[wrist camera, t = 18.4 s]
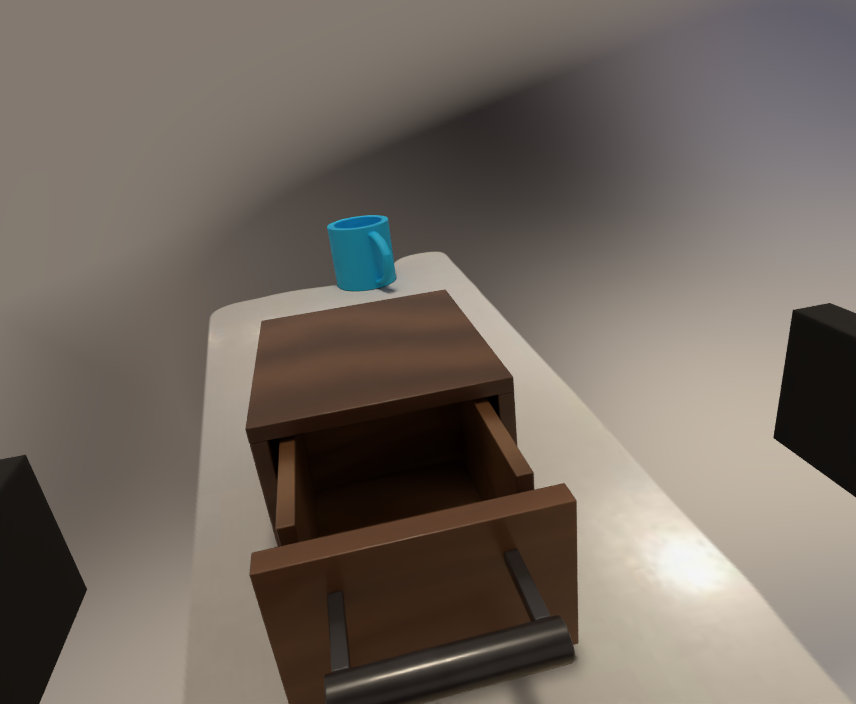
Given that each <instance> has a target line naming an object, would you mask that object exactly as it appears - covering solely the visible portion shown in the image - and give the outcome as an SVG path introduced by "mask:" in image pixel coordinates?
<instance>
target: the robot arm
mask: <svg viewBox="0 0 856 704" xmlns="http://www.w3.org/2000/svg"><path fill="white" fill-rule="evenodd" d="M774 439H776V440H777V441H778V442H780V443H781V444H783V445H784V446H785V447H787V448H788V449H790V450H791V451H792V452H794V453H795V454H796V455H798V456H799V457H801V458H802V459H803V460H805V461H806V462H807V463H809V464H810V465H812V466H813V467H814V468H816V469H817V470H819V471H820V472H821V473H823V474H824V475H826V476H827V477H828V478H830V479H831V480H832V481H834V482H835V483H837V484H838V485H839V486H841V487H842V488H844V489H845V490H846V491H848V492H849V493H851V494H852V495H853V496H855V497H856V313H853V312H851V311H849V310H846V309H843V308H841V307H839V306H836V305H834V304H831V303H828V304H823V305H817V306H812V307H807V308H801V309H796V310H793V313H792V319H791V326H790V333H789V339H788V346H787V352H786V359H785V366H784V373H783V378H782V385H781V392H780V398H779V405H778V411H777V418H776V424H775V431H774ZM86 591H87V588H86V586H85V584H84V582H83V579H82V577H81V575H80V573H79V571H78V569H77V566H76V564H75V562H74V560H73V557H72V555H71V553H70V551H69V549H68V546H67V544H66V542H65V540H64V538H63V535H62V533H61V531H60V529H59V527H58V525H57V522H56V520H55V518H54V516H53V513H52V511H51V509H50V507H49V505H48V503H47V500H46V498H45V496H44V494H43V492H42V489H41V487H40V485H39V483H38V481H37V478H36V476H35V474H34V472H33V470H32V467H31V465H30V464H29V461H28V459H27V457H26V455H22V456H17V457H12V458H6V459H1V460H0V704H39V703H40V701H41V698H42V696H43V694H44V691H45V689H46V686H47V684H48V681H49V679H50V677H51V674H52V672H53V669H54V667H55V665H56V662H57V660H58V658H59V655H60V653H61V650H62V648H63V646H64V643H65V641H66V638H67V636H68V634H69V631H70V629H71V626H72V624H73V622H74V619H75V617H76V614H77V612H78V610H79V607H80V605H81V603H82V600H83V598H84V595H85V593H86Z"/></svg>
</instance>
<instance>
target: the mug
mask: <svg viewBox="0 0 856 704" xmlns="http://www.w3.org/2000/svg"><path fill="white" fill-rule="evenodd" d="M327 229H328V234H329V240H330V246H331V250H332V257H333V262H334V268H335V273H336V279H337V285H338V287H339V288H340V289H343V290H348V291H364V290H371V289H376V288H380V287H383V286H386V285H389V284H390V283H392V282H394V281H395V279H396V274H395V267H394V260H393V252H392V245H391V238H390V230H389V223H388V218H387V217H385V216H378V215H370V216H359V217H352V218H347V219H343V220H339V221H336V222H333V223H331V224H329V225H328V227H327Z"/></svg>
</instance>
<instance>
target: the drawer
mask: <svg viewBox="0 0 856 704" xmlns="http://www.w3.org/2000/svg"><path fill="white" fill-rule="evenodd" d="M276 533H277V537H278V540H279V544H280V547H276V548H271V549H267V550H262V551H258V552H253V553H252V554H251V564H250V578H251V582H252V585H253V588H254V591H255V595H256V598H257V601H258V605H259V608H260V611H261V614H262V618H263V621H264V624H265V627H266V631H267V634H268V637H269V640H270V644H271V647H272V650H273V654H274V657H275V660H276V663H277V667H278V670H279V673H280V676H281V680H282V683H283V686H284V690H285V693H286V696H287V699H288V703H289V704H422V703H425V702H429V701H433V700H437V699H440V698H444V697H448V696H452V695H455V694H459V693H463V692H467V691H470V690H474V689H478V688H482V687H485V686H489V685H493V684H497V683H500V682H504V681H508V680H511V679H515V678H519V677H523V676H526V675H530V674H534V673H538V672H541V671H545V670H549V669H553V668H556V667H560V666H564V665H568V664H571V663H573V662H574V659H575V655H574V647H573V645H574V644H578V582H577V501H576V499H575V497H574V496H573V495H572V493H571V492H570V490H569V489H568V487H567V486H566V485H565V483H563V484H558V485H554V486H549V487H545V488H540V489H536V490H534V473H533V471H532V469H531V468H530V466H529V465H528V463H527V461H526V460H525V458H524V457H523V455H522V454H521V452H520V450H519V449H518V447H517V446H516V444H515V443H514V441H513V439H512V438H511V436H510V435H509V433H508V431H507V430H506V428H505V427H504V425H503V424H502V422H501V420H500V419H499V417H498V416H497V414H496V412H495V411H494V409H493V408H492V406H491V405H490V403H489V401H488V400H487V398H486V397H483V398H478V399H473V400H468V401H463V402H458V403H453V404H448V405H443V406H438V407H433V408H428V409H423V410H418V411H413V412H408V413H403V414H397V415H392V416H387V417H382V418H377V419H372V420H367V421H362V422H357V423H352V424H347V425H342V426H337V427H332V428H327V429H322V430H317V431H312V432H307V433H302V434H297V435H292V436H287V437H282V438H280V441H279V463H278V485H277V507H276Z"/></svg>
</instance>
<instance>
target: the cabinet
mask: <svg viewBox="0 0 856 704" xmlns="http://www.w3.org/2000/svg"><path fill="white" fill-rule="evenodd" d="M483 397H486V398H487V400H488V401H489V403H490V405H491V406H492V408H493V409H494V411H495V412H496V414H497V416H498V417H499V419H500V420H501V422H502V424H503V425H504V427H505V428H506V430H507V431H508V433H509V435H510V436H511V438H512V439H513V441H514V443H515V444H516V446H517V433H516V416H515V400H514V383H513V376H512V375H511V374H510V372H509V371H508V370H507V368H506V367H505V366H504V365H503V363H502V362H501V361H500V359H499V358H498V357H497V355H496V354H495V353H494V352H493V350H492V349H491V348H490V346H489V345H488V344H487V343H486V341H485V340H484V339H483V337H482V336H481V335H480V334H479V332H478V331H477V330H476V328H475V327H474V326H473V325H472V323H471V322H470V321H469V319H468V318H467V317H466V316H465V314H464V313H463V312H462V310H461V309H460V308H459V306H458V305H457V304H456V303H455V301H454V300H453V299H452V297H451V296H450V295H449V294H448V292H447V291H446V290H440V291H434V292H428V293H422V294H416V295H410V296H405V297H399V298H393V299H387V300H381V301H375V302H370V303H364V304H358V305H352V306H346V307H340V308H335V309H329V310H323V311H317V312H311V313H306V314H300V315H294V316H288V317H282V318H276V319H271V320H265V321H262V322H261V329H260V335H259V342H258V349H257V355H256V362H255V369H254V375H253V382H252V389H251V396H250V402H249V409H248V416H247V422H246V429H245V430H246V433H247V437H248V441H249V443H250V447H251V451H252V455H253V458H254V462H255V466H256V469H257V473H258V477H259V480H260V484H261V487H262V491H263V495H264V498H265V502H266V506H267V509H268V513H269V517H270V520H271V524H272V528H273V531H274V535H275V539H276V542H277V546H278V547H280V544H279V540H278V537H277V533H276V507H277V485H278V463H279V441H280V438H282V437H287V436H292V435H297V434H302V433H307V432H312V431H317V430H322V429H327V428H332V427H337V426H342V425H347V424H352V423H357V422H362V421H367V420H372V419H377V418H382V417H387V416H392V415H397V414H403V413H408V412H413V411H418V410H423V409H428V408H433V407H438V406H443V405H448V404H453V403H458V402H463V401H468V400H473V399H478V398H483Z"/></svg>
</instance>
